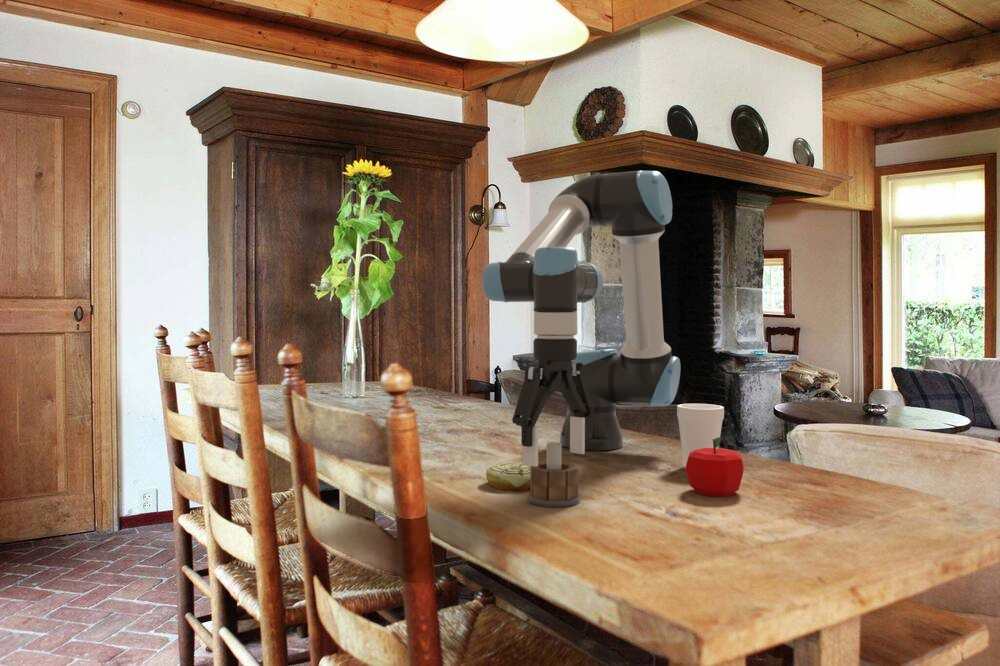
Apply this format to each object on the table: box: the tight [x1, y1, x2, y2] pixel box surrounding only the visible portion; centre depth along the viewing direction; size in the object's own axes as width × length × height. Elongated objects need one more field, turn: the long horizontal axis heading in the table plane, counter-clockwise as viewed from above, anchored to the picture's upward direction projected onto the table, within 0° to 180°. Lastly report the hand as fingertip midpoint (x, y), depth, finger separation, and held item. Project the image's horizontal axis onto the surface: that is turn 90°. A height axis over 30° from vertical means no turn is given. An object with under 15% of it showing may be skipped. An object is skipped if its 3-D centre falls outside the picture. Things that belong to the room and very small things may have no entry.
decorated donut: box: [485, 462, 530, 491], centre depth 151 cm, size 10×11×4 cm
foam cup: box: [676, 403, 725, 469], centre depth 168 cm, size 10×9×13 cm
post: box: [527, 442, 581, 509], centre depth 139 cm, size 9×9×10 cm
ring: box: [529, 461, 579, 501], centre depth 139 cm, size 8×8×5 cm
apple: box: [684, 437, 745, 497], centre depth 146 cm, size 11×11×10 cm
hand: (554, 459), depth 139 cm, fingers open, 13 cm apart
